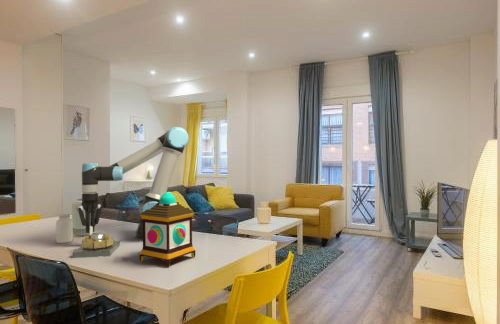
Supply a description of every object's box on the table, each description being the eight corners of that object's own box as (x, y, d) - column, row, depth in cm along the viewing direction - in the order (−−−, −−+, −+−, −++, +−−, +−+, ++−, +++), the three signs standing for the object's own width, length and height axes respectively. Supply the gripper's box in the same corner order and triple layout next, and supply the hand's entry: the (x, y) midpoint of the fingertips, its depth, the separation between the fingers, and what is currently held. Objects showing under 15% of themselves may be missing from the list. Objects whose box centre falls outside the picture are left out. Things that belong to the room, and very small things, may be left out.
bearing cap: (119, 245, 175) (119, 229, 175) (109, 256, 155) (109, 237, 155) (87, 246, 172) (87, 230, 172) (72, 257, 152) (72, 239, 152)
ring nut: (115, 245, 161) (115, 236, 161) (84, 249, 154) (84, 240, 154) (107, 237, 180) (107, 229, 180) (79, 240, 173) (79, 231, 173)
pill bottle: (65, 243, 179) (65, 215, 179) (52, 243, 181) (52, 215, 181) (76, 240, 187) (75, 213, 187) (63, 239, 188) (63, 212, 188)
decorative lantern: (167, 251, 163) (167, 189, 163) (200, 257, 152) (199, 191, 152) (134, 262, 145) (133, 192, 145) (168, 269, 135) (167, 195, 135)
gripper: (98, 191, 180) (99, 235, 180) (73, 193, 170) (73, 240, 170) (105, 192, 175) (106, 237, 175) (80, 194, 165) (80, 242, 165)
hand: (90, 238), depth 172 cm, fingers closed
